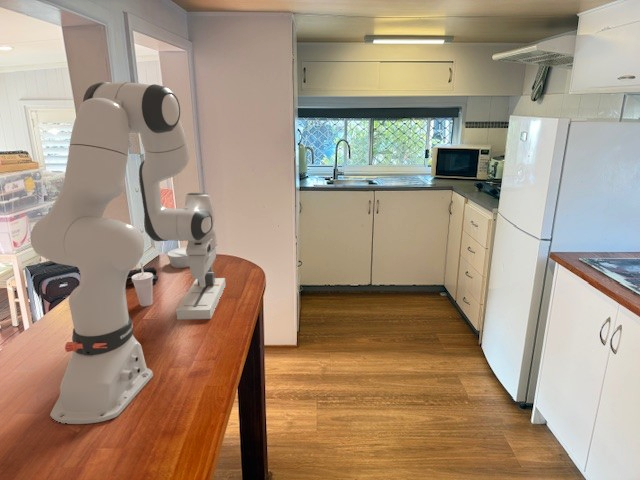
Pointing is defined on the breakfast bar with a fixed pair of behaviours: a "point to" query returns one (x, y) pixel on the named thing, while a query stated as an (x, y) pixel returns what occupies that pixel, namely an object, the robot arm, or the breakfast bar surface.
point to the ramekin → (178, 258)
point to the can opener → (150, 270)
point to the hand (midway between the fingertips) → (206, 280)
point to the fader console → (201, 300)
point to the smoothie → (143, 286)
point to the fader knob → (209, 278)
